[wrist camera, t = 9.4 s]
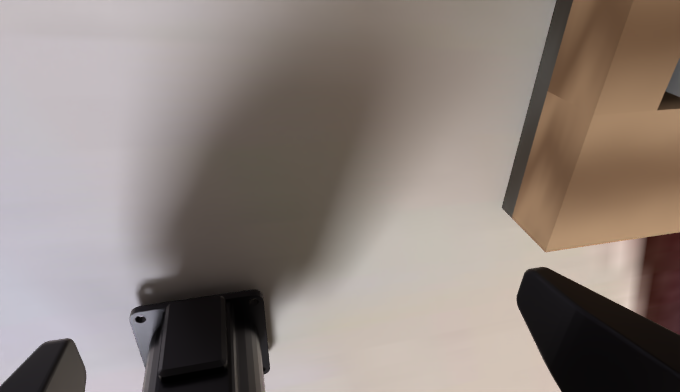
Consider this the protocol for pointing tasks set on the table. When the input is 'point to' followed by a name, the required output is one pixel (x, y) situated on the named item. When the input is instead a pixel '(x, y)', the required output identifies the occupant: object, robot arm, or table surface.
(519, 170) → the socket block
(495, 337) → the table surface
